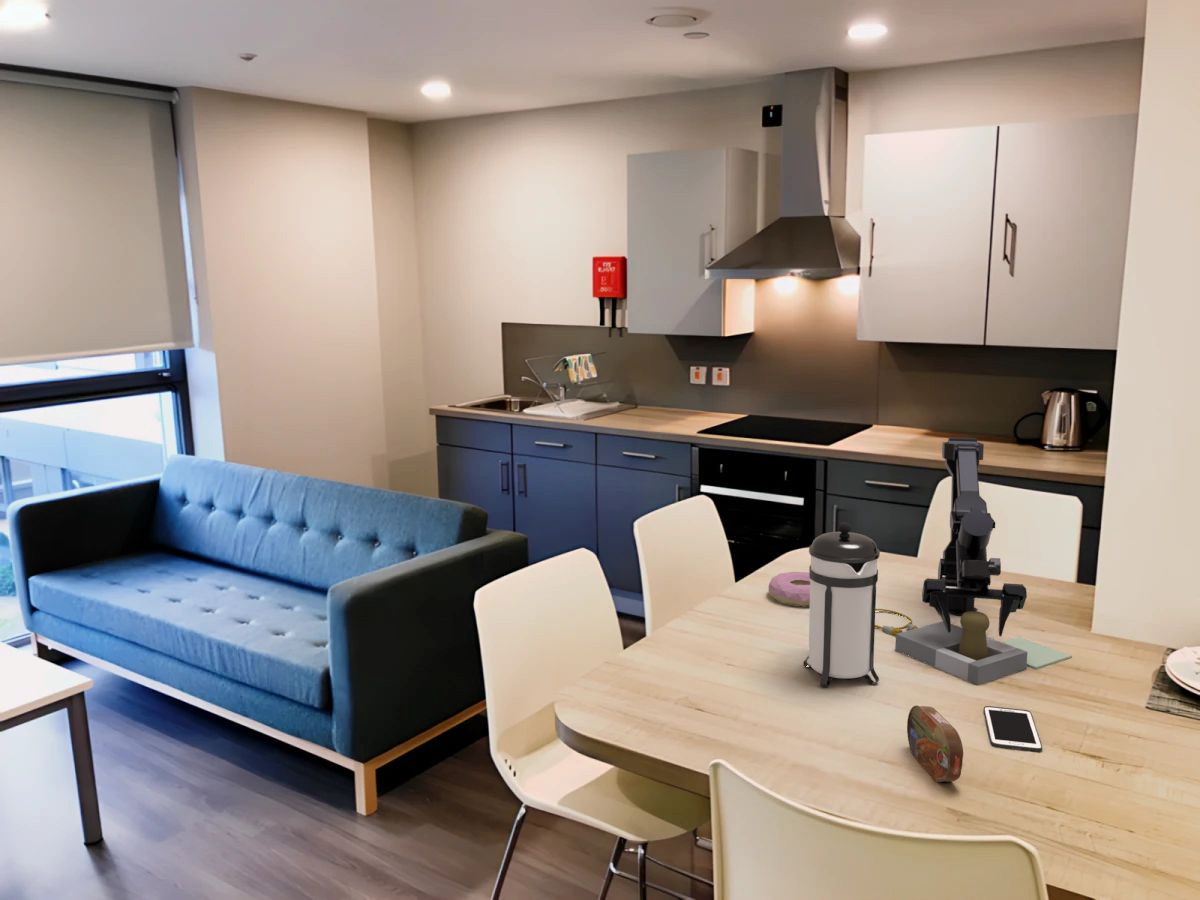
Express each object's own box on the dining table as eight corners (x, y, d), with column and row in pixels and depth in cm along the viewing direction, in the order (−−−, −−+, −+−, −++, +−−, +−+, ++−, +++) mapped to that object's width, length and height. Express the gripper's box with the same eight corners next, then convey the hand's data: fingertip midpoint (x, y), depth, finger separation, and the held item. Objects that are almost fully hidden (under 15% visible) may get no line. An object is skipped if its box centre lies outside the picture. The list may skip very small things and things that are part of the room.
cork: (984, 661, 191) (987, 608, 189) (993, 674, 185) (996, 618, 183) (952, 661, 192) (954, 607, 190) (960, 673, 186) (963, 618, 184)
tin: (904, 745, 158) (906, 696, 156) (923, 744, 158) (925, 695, 157) (944, 793, 143) (947, 739, 142) (965, 792, 143) (968, 738, 142)
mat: (983, 649, 197) (983, 647, 197) (1019, 638, 203) (1019, 636, 203) (1035, 669, 187) (1036, 667, 187) (1071, 657, 192) (1072, 655, 192)
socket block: (895, 650, 197) (895, 633, 197) (943, 637, 204) (943, 621, 204) (977, 684, 180) (978, 667, 180) (1026, 669, 187) (1027, 651, 186)
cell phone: (990, 749, 157) (991, 743, 157) (982, 710, 171) (982, 705, 170) (1043, 755, 155) (1043, 749, 154) (1030, 715, 168) (1030, 710, 168)
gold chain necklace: (862, 637, 206) (862, 628, 205) (855, 612, 221) (856, 604, 221) (922, 640, 204) (922, 631, 203) (911, 614, 219) (911, 606, 219)
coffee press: (897, 671, 187) (903, 519, 181) (856, 698, 175) (862, 537, 170) (817, 649, 198) (821, 506, 193) (774, 673, 187) (777, 521, 182)
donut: (767, 587, 239) (767, 568, 238) (830, 589, 237) (831, 569, 236) (769, 608, 224) (769, 588, 223) (837, 611, 222) (837, 590, 221)
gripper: (925, 538, 191) (926, 611, 182) (1028, 544, 186) (1034, 618, 177) (921, 566, 200) (922, 636, 191) (1019, 572, 195) (1024, 644, 186)
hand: (974, 633), depth 186 cm, fingers open, 9 cm apart
